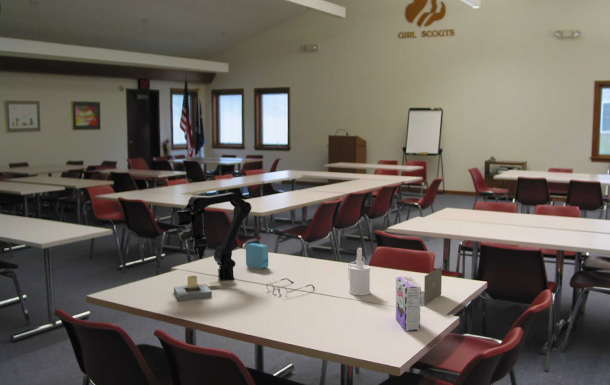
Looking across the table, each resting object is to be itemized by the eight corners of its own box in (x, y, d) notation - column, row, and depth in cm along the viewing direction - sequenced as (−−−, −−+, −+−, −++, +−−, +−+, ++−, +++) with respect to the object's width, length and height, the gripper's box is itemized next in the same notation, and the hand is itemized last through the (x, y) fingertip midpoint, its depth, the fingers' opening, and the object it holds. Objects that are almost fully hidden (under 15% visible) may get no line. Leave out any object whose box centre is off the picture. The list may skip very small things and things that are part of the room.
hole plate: (205, 288, 257) (205, 282, 257) (211, 297, 244) (211, 291, 244) (174, 292, 252) (173, 286, 252) (179, 301, 239) (178, 294, 239)
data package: (268, 268, 293) (268, 245, 291) (262, 269, 289) (262, 246, 288) (251, 264, 300) (251, 242, 299) (245, 266, 297) (245, 243, 295)
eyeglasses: (262, 292, 252) (262, 281, 252) (291, 283, 266) (291, 272, 265) (288, 299, 242) (287, 287, 241) (317, 289, 255) (316, 278, 254)
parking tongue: (218, 284, 263) (218, 281, 263) (221, 287, 258) (221, 284, 257) (205, 286, 261) (205, 282, 261) (208, 289, 255) (208, 286, 255)
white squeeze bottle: (374, 292, 249) (374, 247, 246) (361, 297, 242) (361, 251, 239) (355, 287, 256) (355, 244, 253) (342, 292, 249) (342, 247, 247)
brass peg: (196, 292, 250) (195, 275, 250) (198, 295, 247) (197, 277, 246) (187, 294, 249) (186, 276, 248) (188, 296, 245) (188, 278, 244)
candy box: (395, 318, 215) (395, 276, 213) (410, 317, 215) (410, 275, 213) (404, 331, 201) (405, 286, 199) (420, 331, 202) (421, 286, 200)
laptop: (414, 291, 251) (414, 262, 249) (441, 296, 243) (442, 266, 242) (396, 302, 236) (396, 271, 234) (425, 307, 229) (425, 276, 227)
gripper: (176, 221, 267) (177, 254, 269) (182, 228, 250) (184, 262, 252) (199, 220, 271) (200, 251, 273) (207, 226, 254) (209, 260, 256)
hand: (198, 256), depth 263 cm, fingers open, 9 cm apart
